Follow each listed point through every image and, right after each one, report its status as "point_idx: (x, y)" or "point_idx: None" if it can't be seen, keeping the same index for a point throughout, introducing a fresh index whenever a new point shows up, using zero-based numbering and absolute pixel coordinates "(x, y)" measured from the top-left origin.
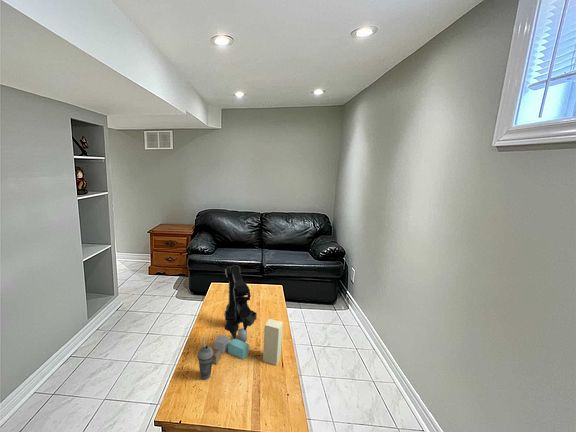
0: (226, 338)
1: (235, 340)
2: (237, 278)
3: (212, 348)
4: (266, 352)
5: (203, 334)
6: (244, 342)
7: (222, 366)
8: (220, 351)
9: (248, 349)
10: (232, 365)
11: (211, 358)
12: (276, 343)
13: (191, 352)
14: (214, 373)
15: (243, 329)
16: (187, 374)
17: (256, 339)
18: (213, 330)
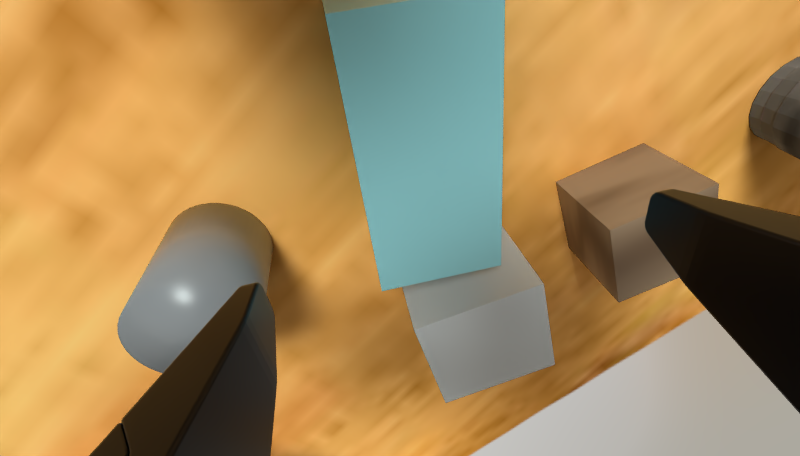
0: (452, 331)
1: (409, 244)
2: None
3: (622, 297)
4: None
5: (421, 442)
6: (348, 118)
7: (640, 82)
8: (614, 220)
9: (329, 4)
10: (589, 5)
11: None
12: None
13: (597, 354)
14: (743, 65)
15: (162, 348)
16: (788, 212)
17: (41, 142)
18: (344, 446)
